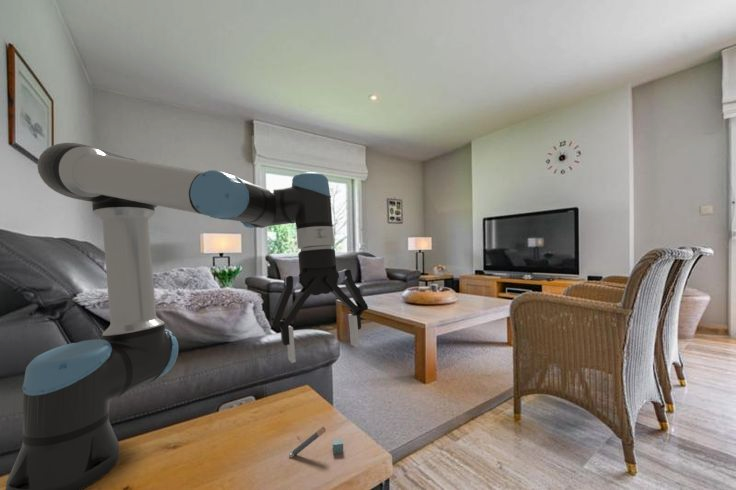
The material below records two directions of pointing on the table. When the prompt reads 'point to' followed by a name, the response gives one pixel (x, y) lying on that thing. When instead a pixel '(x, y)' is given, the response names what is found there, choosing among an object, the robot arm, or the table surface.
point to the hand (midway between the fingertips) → (325, 353)
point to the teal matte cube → (337, 446)
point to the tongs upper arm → (307, 442)
